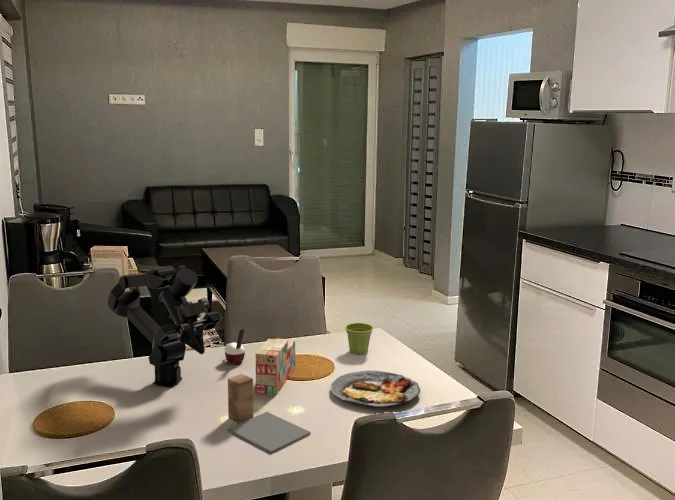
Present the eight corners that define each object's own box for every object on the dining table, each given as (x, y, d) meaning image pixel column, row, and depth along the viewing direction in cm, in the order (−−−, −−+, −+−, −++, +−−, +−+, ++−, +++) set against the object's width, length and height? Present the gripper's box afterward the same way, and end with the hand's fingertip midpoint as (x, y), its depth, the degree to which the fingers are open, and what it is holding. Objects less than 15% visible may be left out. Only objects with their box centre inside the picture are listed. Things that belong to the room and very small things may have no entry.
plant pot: (363, 359, 207) (364, 333, 206) (339, 352, 212) (339, 328, 211) (377, 350, 215) (378, 326, 213) (353, 345, 220) (354, 321, 218)
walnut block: (228, 418, 164) (227, 378, 162) (241, 413, 168) (241, 373, 165) (239, 424, 161) (239, 383, 159) (253, 418, 165) (252, 378, 162)
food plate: (430, 386, 187) (430, 374, 186) (403, 419, 166) (404, 406, 166) (351, 372, 197) (351, 362, 197) (318, 402, 177) (318, 390, 176)
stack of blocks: (276, 366, 200) (276, 328, 198) (295, 367, 199) (296, 330, 197) (255, 394, 180) (255, 352, 177) (276, 396, 179) (276, 354, 176)
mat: (227, 430, 158) (227, 428, 158) (266, 413, 167) (266, 411, 167) (271, 453, 148) (271, 451, 147) (310, 434, 157) (310, 431, 157)
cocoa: (224, 359, 206) (222, 323, 204) (243, 357, 207) (241, 321, 205) (227, 369, 197) (225, 331, 195) (247, 366, 198) (245, 329, 196)
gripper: (159, 296, 165) (185, 347, 160) (217, 283, 179) (243, 330, 174) (144, 318, 172) (168, 368, 167) (201, 304, 186) (225, 350, 181)
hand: (202, 353), depth 172 cm, fingers closed
